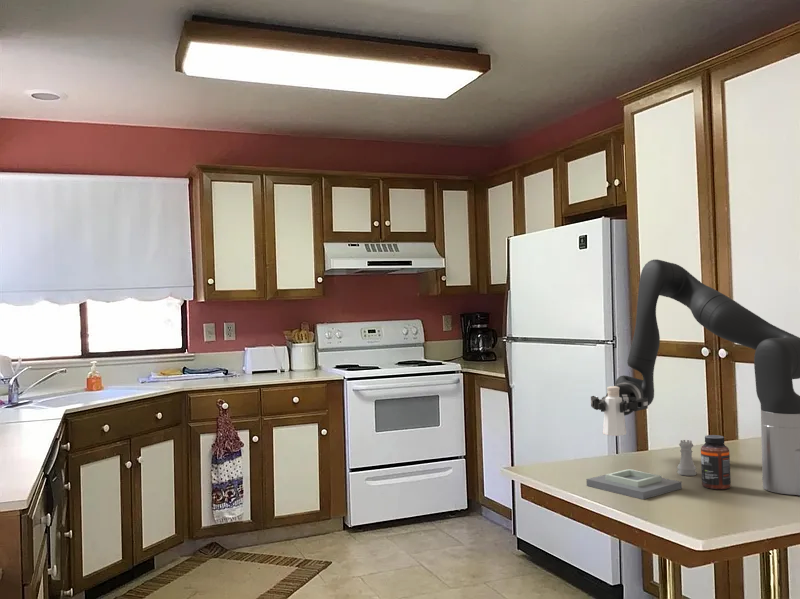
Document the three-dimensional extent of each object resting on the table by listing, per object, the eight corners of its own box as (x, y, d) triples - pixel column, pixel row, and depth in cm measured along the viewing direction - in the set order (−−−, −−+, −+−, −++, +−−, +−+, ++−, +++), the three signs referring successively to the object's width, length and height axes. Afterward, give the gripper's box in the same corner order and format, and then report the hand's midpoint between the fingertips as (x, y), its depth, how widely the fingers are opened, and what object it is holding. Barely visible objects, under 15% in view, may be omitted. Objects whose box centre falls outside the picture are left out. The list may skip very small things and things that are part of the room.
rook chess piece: (698, 476, 169) (697, 442, 169) (678, 476, 170) (678, 442, 170) (694, 472, 173) (694, 439, 173) (675, 471, 174) (674, 439, 174)
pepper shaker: (618, 436, 162) (616, 388, 162) (597, 434, 166) (596, 387, 166) (631, 433, 165) (630, 386, 165) (611, 431, 169) (610, 384, 170)
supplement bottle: (732, 485, 160) (730, 435, 160) (729, 491, 155) (728, 439, 155) (703, 482, 163) (702, 433, 163) (699, 488, 158) (698, 437, 158)
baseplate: (681, 488, 158) (681, 476, 158) (643, 499, 150) (642, 486, 150) (625, 476, 170) (624, 465, 170) (586, 485, 162) (586, 473, 162)
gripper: (594, 382, 182) (580, 390, 166) (653, 384, 175) (643, 392, 160) (595, 412, 182) (581, 422, 166) (654, 414, 175) (644, 425, 160)
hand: (611, 407), depth 163 cm, fingers closed on pepper shaker, 3 cm apart
